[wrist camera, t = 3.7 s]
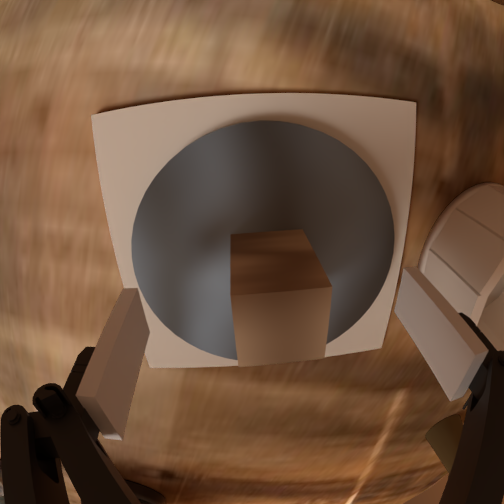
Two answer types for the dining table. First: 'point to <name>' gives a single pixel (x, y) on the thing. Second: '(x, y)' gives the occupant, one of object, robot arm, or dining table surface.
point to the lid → (263, 242)
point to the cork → (446, 439)
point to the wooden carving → (499, 1)
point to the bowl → (471, 257)
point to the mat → (229, 113)
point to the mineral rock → (0, 483)
